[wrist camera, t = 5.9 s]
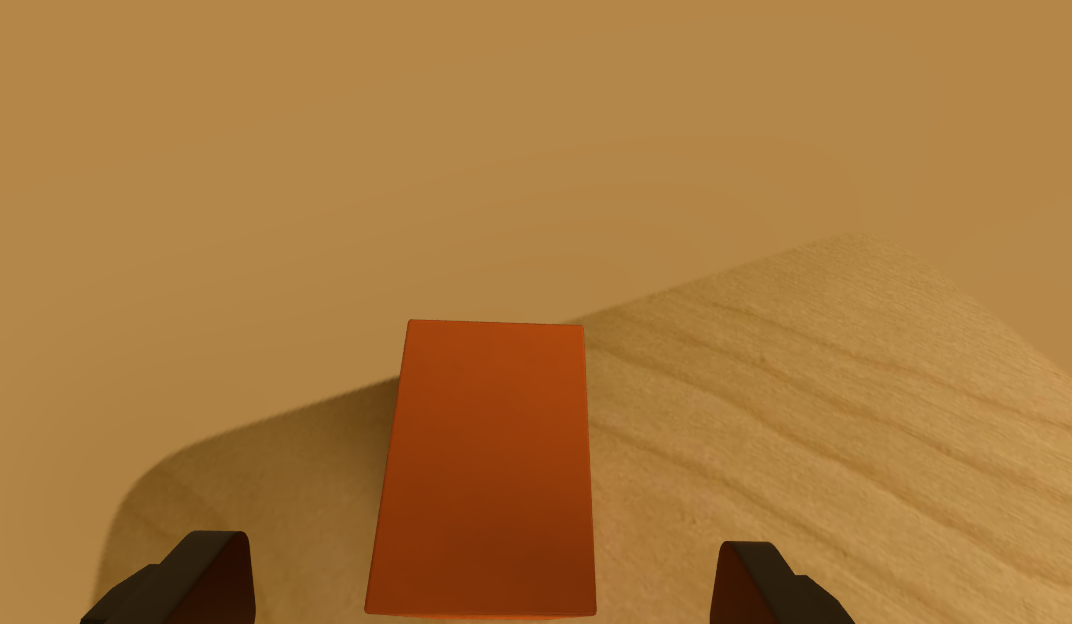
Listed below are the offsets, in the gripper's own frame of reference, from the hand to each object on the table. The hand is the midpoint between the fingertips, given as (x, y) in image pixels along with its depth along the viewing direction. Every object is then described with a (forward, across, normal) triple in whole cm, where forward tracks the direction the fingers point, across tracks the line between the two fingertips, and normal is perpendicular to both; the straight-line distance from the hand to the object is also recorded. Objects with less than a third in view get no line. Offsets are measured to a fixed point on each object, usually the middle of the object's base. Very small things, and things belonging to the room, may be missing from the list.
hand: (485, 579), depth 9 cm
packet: (+8, 0, +5) cm, 9 cm away
